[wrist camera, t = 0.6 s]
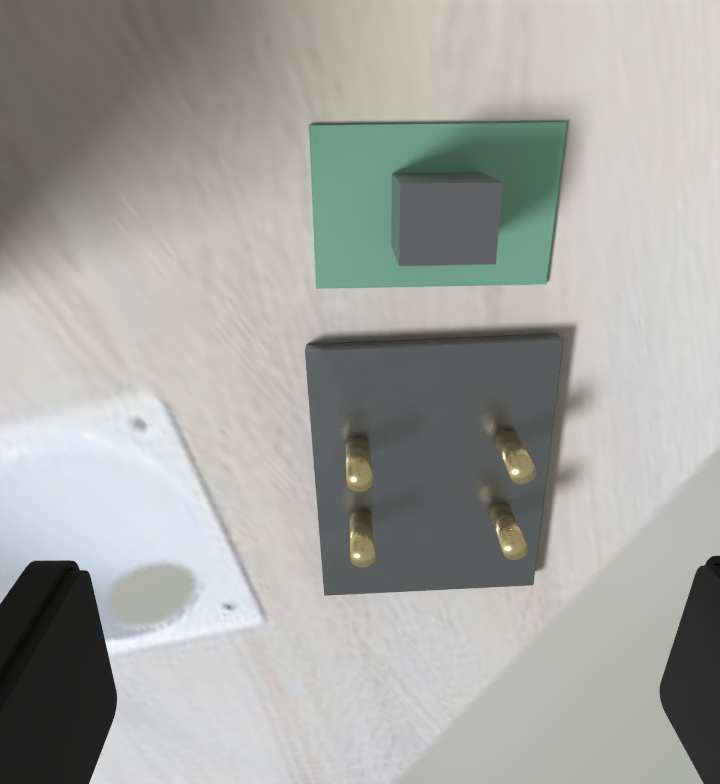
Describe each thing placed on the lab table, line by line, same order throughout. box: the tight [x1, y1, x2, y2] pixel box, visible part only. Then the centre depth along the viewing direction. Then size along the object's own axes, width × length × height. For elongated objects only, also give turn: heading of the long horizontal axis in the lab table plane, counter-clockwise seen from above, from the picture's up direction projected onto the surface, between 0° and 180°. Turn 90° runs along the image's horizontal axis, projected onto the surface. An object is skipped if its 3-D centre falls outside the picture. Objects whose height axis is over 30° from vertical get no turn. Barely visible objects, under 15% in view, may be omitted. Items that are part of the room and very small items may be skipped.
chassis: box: [305, 334, 563, 596], centre depth 40 cm, size 20×16×5 cm
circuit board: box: [309, 122, 567, 289], centre depth 32 cm, size 14×9×6 cm, turn 91°
